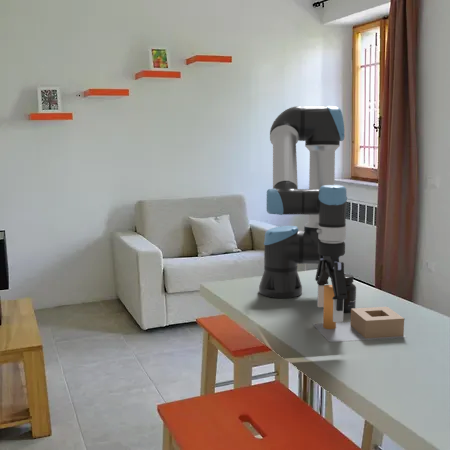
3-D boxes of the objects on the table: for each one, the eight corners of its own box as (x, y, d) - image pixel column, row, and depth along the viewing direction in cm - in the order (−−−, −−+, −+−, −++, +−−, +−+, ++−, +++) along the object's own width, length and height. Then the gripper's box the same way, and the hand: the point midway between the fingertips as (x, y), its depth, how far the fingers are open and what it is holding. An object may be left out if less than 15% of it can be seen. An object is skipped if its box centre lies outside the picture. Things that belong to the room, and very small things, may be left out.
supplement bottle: (355, 316, 182) (356, 278, 180) (333, 315, 183) (333, 277, 181) (355, 310, 188) (356, 273, 186) (333, 308, 190) (334, 272, 188)
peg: (321, 325, 171) (322, 285, 169) (333, 324, 171) (334, 284, 169) (325, 329, 167) (326, 288, 165) (337, 328, 168) (338, 287, 166)
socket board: (312, 327, 172) (312, 307, 171) (383, 323, 176) (384, 303, 175) (329, 345, 158) (329, 324, 157) (406, 340, 161) (407, 319, 160)
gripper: (305, 233, 177) (304, 301, 180) (333, 250, 152) (331, 328, 156) (329, 232, 178) (328, 300, 181) (361, 249, 154) (358, 327, 157)
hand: (329, 313), depth 169 cm, fingers open, 13 cm apart
